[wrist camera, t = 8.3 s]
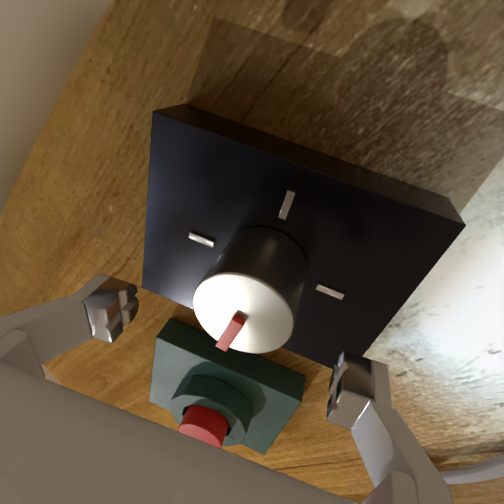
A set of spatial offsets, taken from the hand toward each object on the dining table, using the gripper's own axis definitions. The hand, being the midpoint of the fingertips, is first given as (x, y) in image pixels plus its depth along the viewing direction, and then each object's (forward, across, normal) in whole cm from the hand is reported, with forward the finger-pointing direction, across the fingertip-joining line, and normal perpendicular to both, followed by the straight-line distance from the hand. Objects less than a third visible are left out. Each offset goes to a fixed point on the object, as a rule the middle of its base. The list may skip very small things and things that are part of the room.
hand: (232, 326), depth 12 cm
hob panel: (+8, 0, 0) cm, 8 cm away
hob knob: (+5, 0, 0) cm, 5 cm away
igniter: (+8, +2, +16) cm, 18 cm away
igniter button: (+5, +2, +16) cm, 17 cm away
